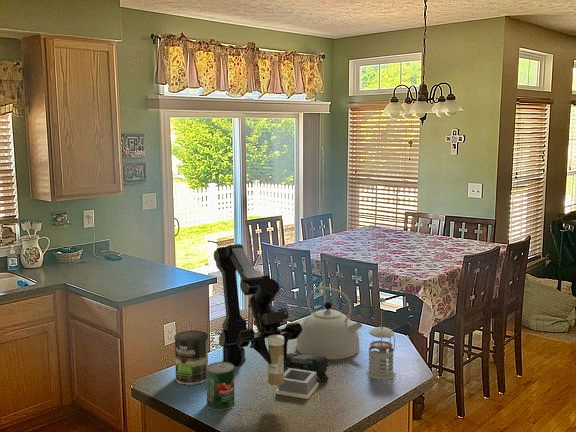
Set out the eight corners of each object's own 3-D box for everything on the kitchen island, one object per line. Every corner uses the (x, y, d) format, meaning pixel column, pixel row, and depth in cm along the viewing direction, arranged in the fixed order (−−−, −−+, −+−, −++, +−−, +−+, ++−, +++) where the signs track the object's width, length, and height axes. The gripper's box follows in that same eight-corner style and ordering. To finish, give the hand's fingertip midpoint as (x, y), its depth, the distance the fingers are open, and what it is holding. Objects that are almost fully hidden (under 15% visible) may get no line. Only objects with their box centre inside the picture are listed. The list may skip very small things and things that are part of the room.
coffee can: (198, 387, 176) (197, 342, 175) (169, 382, 180) (168, 338, 178) (214, 374, 186) (213, 332, 184) (186, 370, 189) (185, 328, 188)
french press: (359, 373, 186) (360, 298, 183) (379, 363, 195) (380, 291, 192) (385, 382, 180) (386, 303, 177) (405, 371, 188) (406, 296, 185)
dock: (275, 393, 172) (275, 379, 171) (288, 380, 181) (288, 367, 180) (307, 398, 168) (307, 384, 167) (318, 385, 177) (318, 371, 177)
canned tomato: (227, 412, 160) (226, 374, 158) (201, 408, 162) (200, 370, 161) (239, 400, 167) (238, 363, 166) (214, 396, 170) (214, 360, 168)
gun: (323, 383, 178) (315, 351, 179) (282, 386, 192) (275, 356, 194) (333, 379, 181) (325, 348, 182) (292, 382, 195) (285, 353, 197)
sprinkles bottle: (264, 383, 163) (264, 337, 161) (275, 378, 166) (275, 333, 165) (276, 387, 160) (276, 340, 158) (287, 382, 164) (287, 336, 162)
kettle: (375, 346, 212) (376, 286, 209) (346, 365, 193) (347, 300, 191) (316, 334, 226) (317, 277, 223) (284, 351, 207) (284, 289, 204)
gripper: (239, 302, 160) (254, 354, 151) (300, 295, 168) (317, 344, 159) (230, 322, 168) (243, 372, 160) (288, 314, 176) (304, 361, 167)
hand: (277, 362), depth 161 cm, fingers closed on sprinkles bottle, 4 cm apart
